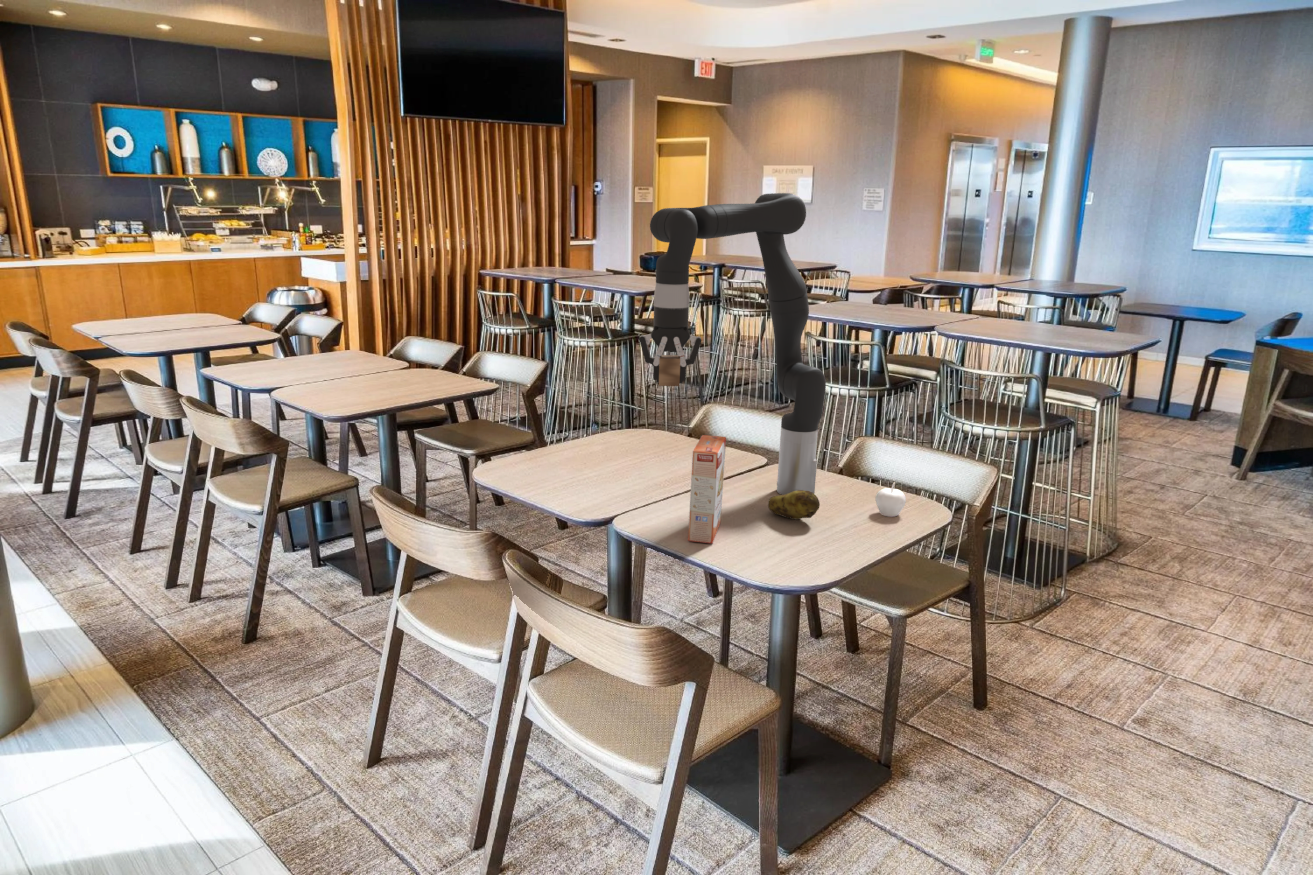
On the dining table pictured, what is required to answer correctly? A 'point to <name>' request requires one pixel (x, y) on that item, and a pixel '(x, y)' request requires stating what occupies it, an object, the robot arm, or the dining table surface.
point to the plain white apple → (890, 501)
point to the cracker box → (706, 488)
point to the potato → (795, 504)
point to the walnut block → (669, 370)
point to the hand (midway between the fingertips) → (669, 382)
